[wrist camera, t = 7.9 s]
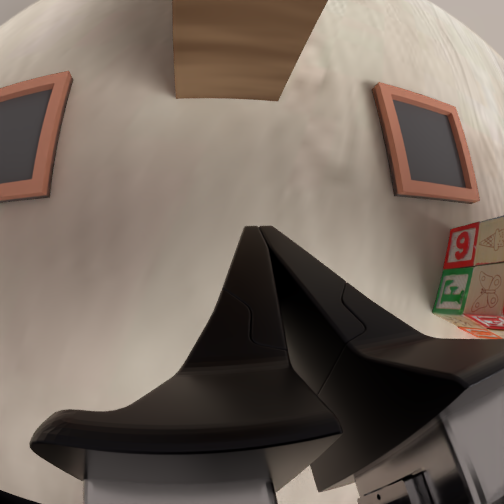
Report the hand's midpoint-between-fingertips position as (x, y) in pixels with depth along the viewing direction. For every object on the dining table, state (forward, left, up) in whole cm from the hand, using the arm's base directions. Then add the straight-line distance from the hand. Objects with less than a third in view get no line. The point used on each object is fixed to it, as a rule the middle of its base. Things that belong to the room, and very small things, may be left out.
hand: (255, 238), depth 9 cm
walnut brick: (+9, -13, -6) cm, 17 cm away
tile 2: (-7, -14, -6) cm, 17 cm away
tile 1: (+16, +2, -6) cm, 17 cm away
